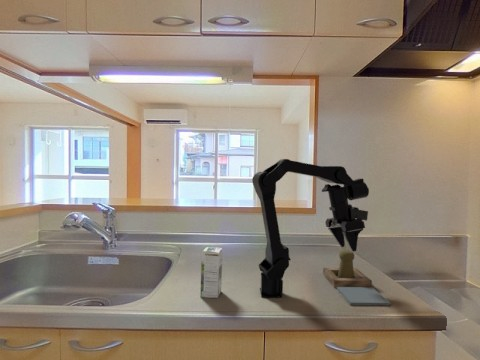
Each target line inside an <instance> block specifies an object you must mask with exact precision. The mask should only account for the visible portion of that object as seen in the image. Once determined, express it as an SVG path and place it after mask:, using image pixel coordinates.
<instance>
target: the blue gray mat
mask: <svg viewBox="0 0 480 360" xmlns="http://www.w3.org/2000/svg"><path fill="white" fill-rule="evenodd" d="M336 290H337V291H338V293H340V294H341V296H342V297H343V298H344V299H345V300H346V302H348V304H349V305H350V306H387V307H388V306H391V302H390V301H389V300H388V299H386V298H385V297H384V296H383V295H382V294H381V293H380V292H378V291H377V290H376V289H375V288H374V287H373V286H372V287H337V288H336Z"/></svg>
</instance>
